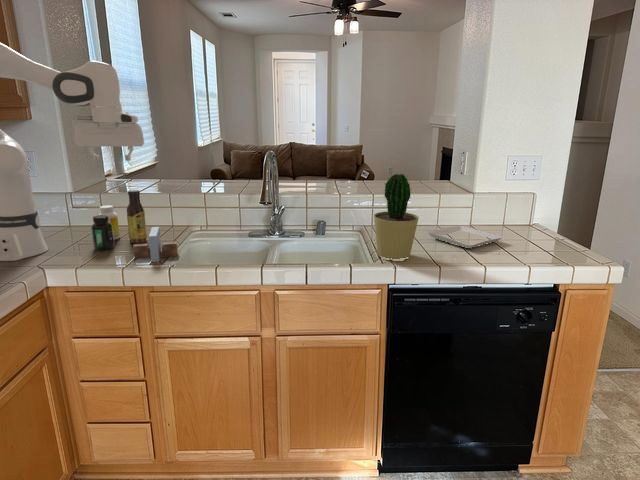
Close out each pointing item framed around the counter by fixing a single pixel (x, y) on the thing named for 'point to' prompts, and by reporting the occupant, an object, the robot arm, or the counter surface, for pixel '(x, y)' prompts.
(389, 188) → the potted cactus
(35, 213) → the robot arm
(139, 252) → the notched block
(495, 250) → the counter surface
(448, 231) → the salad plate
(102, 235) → the supplement bottle
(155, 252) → the blue gray rectangular block
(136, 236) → the sauce bottle
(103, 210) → the supplement bottle
